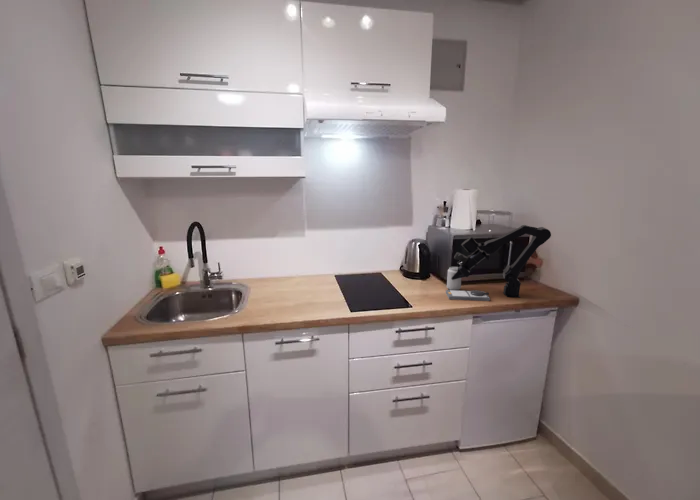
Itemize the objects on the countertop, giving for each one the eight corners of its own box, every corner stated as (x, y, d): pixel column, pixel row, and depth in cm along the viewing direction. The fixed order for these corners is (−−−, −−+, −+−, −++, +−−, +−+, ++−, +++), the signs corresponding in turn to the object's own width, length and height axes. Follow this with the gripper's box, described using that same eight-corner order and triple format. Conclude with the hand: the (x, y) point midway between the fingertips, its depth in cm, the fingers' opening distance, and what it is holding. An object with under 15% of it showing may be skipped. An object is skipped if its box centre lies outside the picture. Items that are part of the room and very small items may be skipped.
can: (445, 289, 179) (446, 268, 176) (448, 285, 185) (449, 265, 183) (459, 291, 175) (460, 270, 173) (461, 287, 182) (463, 267, 179)
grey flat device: (485, 294, 174) (485, 289, 174) (491, 301, 164) (491, 296, 164) (445, 292, 176) (445, 287, 176) (449, 299, 167) (449, 294, 166)
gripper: (463, 244, 183) (442, 262, 188) (464, 251, 165) (440, 270, 171) (477, 258, 182) (455, 276, 188) (480, 267, 165) (455, 286, 171)
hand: (451, 277), depth 179 cm, fingers closed on can, 7 cm apart
